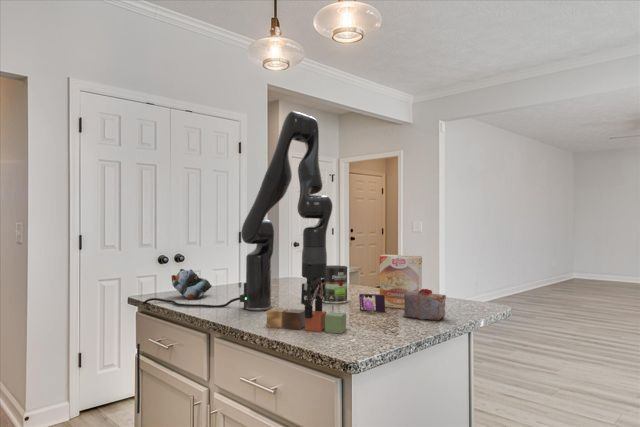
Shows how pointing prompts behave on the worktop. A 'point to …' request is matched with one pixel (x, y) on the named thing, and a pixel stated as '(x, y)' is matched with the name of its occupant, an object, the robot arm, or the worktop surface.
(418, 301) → the food item
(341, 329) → the sage block
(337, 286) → the coffee can
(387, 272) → the coffeecake box
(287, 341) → the worktop surface
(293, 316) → the walnut block
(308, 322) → the terracotta red block
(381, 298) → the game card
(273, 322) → the maple block
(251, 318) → the worktop surface
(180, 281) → the blue-grey lumpy piece
